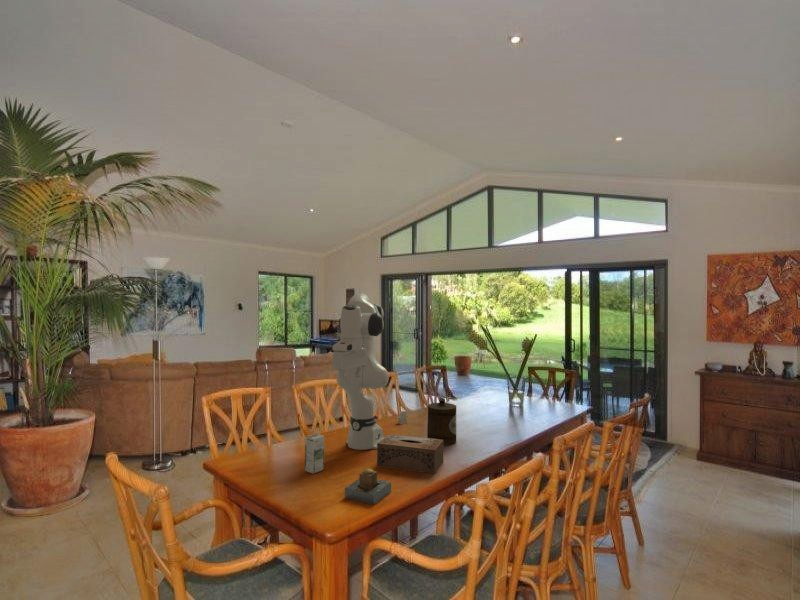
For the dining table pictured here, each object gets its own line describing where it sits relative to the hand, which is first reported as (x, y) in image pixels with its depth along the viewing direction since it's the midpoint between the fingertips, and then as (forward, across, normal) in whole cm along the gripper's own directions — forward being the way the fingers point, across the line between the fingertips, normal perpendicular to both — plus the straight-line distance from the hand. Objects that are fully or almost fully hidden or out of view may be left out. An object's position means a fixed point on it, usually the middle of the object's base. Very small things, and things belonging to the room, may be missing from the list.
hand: (350, 378), depth 175 cm
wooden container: (+39, -59, +16) cm, 73 cm away
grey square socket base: (+39, +12, +16) cm, 44 cm away
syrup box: (+39, +3, -16) cm, 43 cm away
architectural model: (+40, -80, -18) cm, 91 cm away
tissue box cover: (+40, -23, +16) cm, 48 cm away
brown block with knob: (+39, +12, +16) cm, 44 cm away
